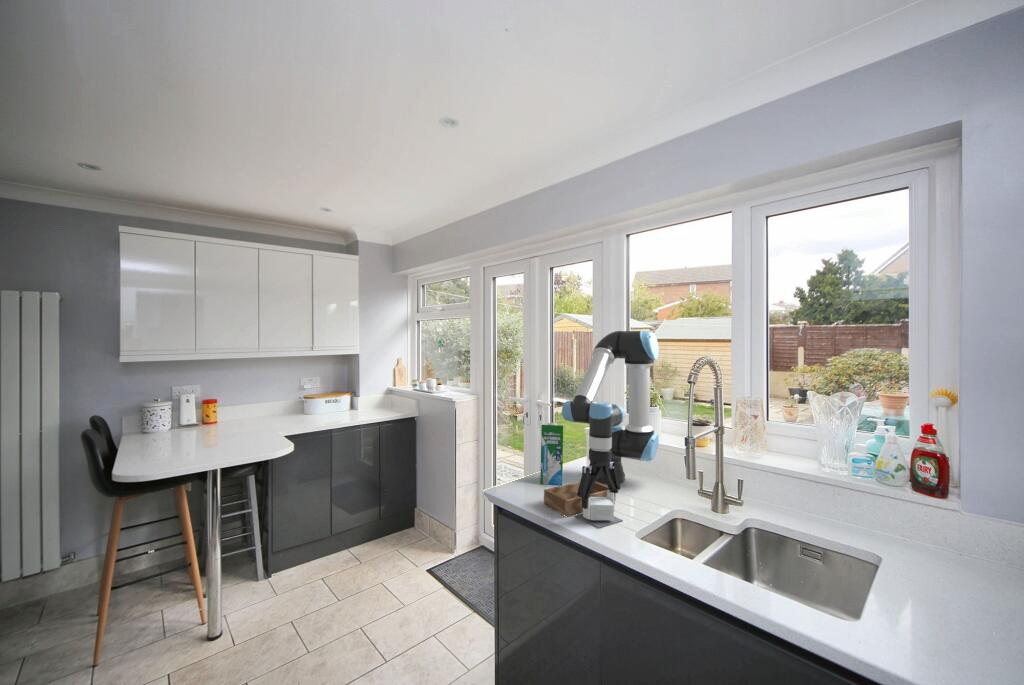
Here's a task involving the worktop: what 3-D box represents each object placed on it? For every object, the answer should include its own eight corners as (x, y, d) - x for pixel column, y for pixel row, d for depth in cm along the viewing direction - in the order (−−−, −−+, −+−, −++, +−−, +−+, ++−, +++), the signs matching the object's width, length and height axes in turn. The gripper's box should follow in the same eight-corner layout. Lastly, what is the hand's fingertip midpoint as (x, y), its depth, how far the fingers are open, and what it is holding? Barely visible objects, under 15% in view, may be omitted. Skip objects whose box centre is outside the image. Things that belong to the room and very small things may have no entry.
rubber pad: (599, 510, 152) (599, 508, 152) (622, 521, 142) (622, 520, 142) (575, 516, 146) (575, 515, 146) (598, 528, 136) (598, 527, 136)
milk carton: (561, 478, 186) (562, 421, 186) (562, 485, 177) (563, 425, 177) (541, 477, 187) (542, 420, 187) (540, 484, 178) (541, 424, 178)
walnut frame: (590, 493, 168) (590, 479, 168) (614, 504, 157) (615, 489, 157) (543, 504, 156) (543, 489, 156) (566, 517, 145) (567, 501, 145)
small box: (614, 520, 140) (614, 505, 140) (590, 520, 140) (590, 504, 140) (608, 511, 148) (608, 496, 148) (585, 511, 147) (585, 496, 147)
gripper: (615, 442, 153) (614, 504, 153) (566, 450, 141) (565, 517, 141) (632, 447, 147) (630, 511, 147) (582, 455, 135) (580, 525, 135)
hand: (598, 514), depth 144 cm, fingers closed on small box, 10 cm apart
